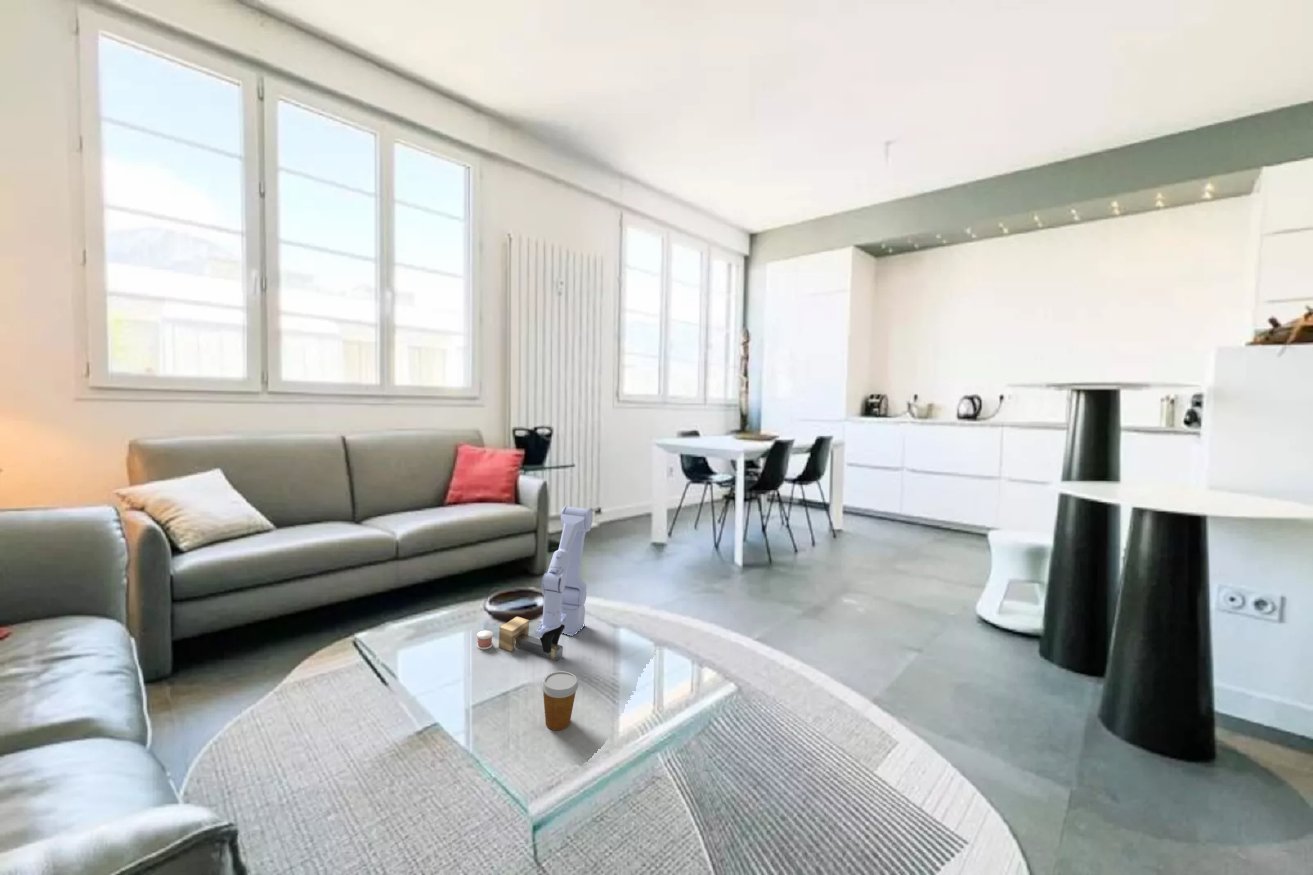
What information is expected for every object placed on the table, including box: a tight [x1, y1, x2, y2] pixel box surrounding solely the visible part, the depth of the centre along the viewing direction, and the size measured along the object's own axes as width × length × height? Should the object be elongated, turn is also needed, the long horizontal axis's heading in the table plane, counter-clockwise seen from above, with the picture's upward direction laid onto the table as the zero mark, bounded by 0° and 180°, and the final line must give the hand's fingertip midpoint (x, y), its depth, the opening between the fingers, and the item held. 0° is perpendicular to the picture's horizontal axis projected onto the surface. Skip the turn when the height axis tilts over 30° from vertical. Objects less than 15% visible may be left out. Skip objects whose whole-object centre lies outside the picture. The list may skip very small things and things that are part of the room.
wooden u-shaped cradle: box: [498, 616, 530, 652], centre depth 185 cm, size 9×5×7 cm, turn 157°
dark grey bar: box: [515, 634, 564, 661], centre depth 181 cm, size 3×16×4 cm, turn 67°
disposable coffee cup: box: [540, 670, 579, 731], centre depth 146 cm, size 10×10×12 cm
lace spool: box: [476, 630, 494, 650], centre depth 182 cm, size 5×5×4 cm
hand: (549, 649), depth 179 cm, fingers open, 3 cm apart
